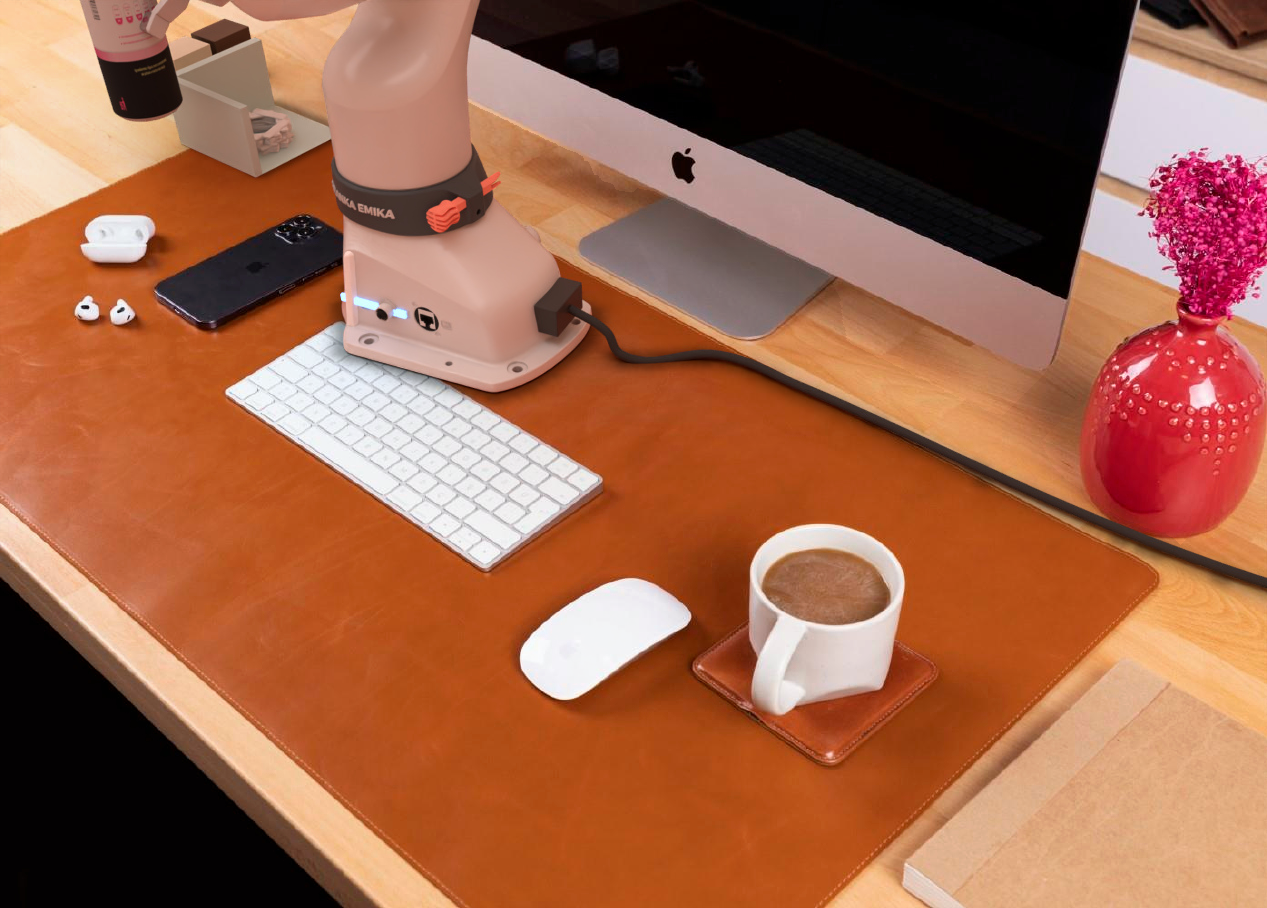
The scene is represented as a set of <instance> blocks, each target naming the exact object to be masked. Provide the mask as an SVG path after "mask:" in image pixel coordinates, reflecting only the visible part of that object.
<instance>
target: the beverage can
mask: <svg viewBox="0 0 1267 908" xmlns="http://www.w3.org/2000/svg"><path fill="white" fill-rule="evenodd" d="M79 3H80V6H81V9H82V12H83V16H84V18H85V22H86V25H87V29H88V33H89V36H90V39H91V42H92V44H93V48H94V52H95V56H96V59H97V62H98V65H99V68H100V72H101V75H102V79H103V82H104V85H105V89H106V91H107V94H108V98H109V101H110V104H111V107H112V111H113V113H114V114H115V115H117V116H118V117H120V118H122V119H123V120H125V121H129V122H133V123H134V122H135V123H136V122H137V123H145V122H154V121H158V120H161V119H165V118H166V117H169V116H171V115H173V113H174V112H175V111H176V110H177V109H178V108H179V106H180V105H181V103H182V101H183V97H182V94H181V90H180V86H179V82H178V78H177V75H176V71H175V67H174V63H173V59H172V56H171V52H170V48H169V44H168V43H169V41H168V37H167V34H165V36H164V38H162V39H158V38H155V37H153V36H150V35H148V34H146V33H145V32H143V31H141V30H140V23H141V21H142V20H143V17H144V14H145V12H146V11H148V12H151V11H152V10H153V9H154V8H155V7H156V5H157V4H158V3H159V1H158V0H79ZM151 13H152V12H151Z"/></svg>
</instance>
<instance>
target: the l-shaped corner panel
mask: <svg viewBox="0 0 1267 908" xmlns="http://www.w3.org/2000/svg"><path fill="white" fill-rule="evenodd" d="M176 75H177V78H178V82H179V86H180V90H181V94H182V97H183V101H182V103H181V105H180V106H179V108H178V109H177V110H176V111H175V112H174V113H173V114H172V116H173V120H174V123H175V127H176V130H177V134H178V137H179V142H180V144H181V145H183V146H185V147H187V148H190V149H192V150H194V151H195V152H198V153H200V154H203V155H205V156H207V157H209V158H211V159H213V160H216V161H218V162H220V163H223V164H225V165H227V166H229V167H231V168H234V169H236V170H239V171H240V172H243V173H245V174H247V175H250V176H252V177H254V178H258V177H261V176H262V175H264V174H266V173H268V172H270V171H272V170H273V169H276V168H277V167H280V166H282V165H283V164H286V163H287V162H289V161H290V160H291V161H292V160H293V159H295V158H297V157H298V156H301V155H302V154H304V153H306V152H308V151H310V150H313V149H314V148H316V147H318V146H320V145H322V144H324V143H326V142H328V141H329V140H331V134H330V129H329V125H325V124H324V123H320V122H318V121H316V120H313V119H311V118H308V117H306V116H303V115H301V114H298V113H296V112H293V111H292V110H288V109H286V108H285V107H281V106H278V105H276V104H275V99H274V94H273V89H272V85H271V84H272V83H271V78H270V74H269V70H268V64H267V60H266V56H265V50H264V45H263V41H262V39H261V38H258V37H251V39H250V40H248V41H245V42H243V43H241V44H238V45H236V46H234V47H231V48H229V49H227V50H224V51H222V52H220V53H217V54H215V55H213V56H210V57H208V58H206V59H203V60H201V61H199V62H196V63H194V64H192V65H190V66H187V67H185V68H183V69H180V70H178V71H176Z"/></svg>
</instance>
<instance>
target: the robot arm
mask: <svg viewBox="0 0 1267 908" xmlns="http://www.w3.org/2000/svg"><path fill="white" fill-rule="evenodd" d="M190 1H191V0H160V1H158V4H157V5H156V7H155V8H154V9H153V10H152V11H151V12H152V13H151V12H148V11H146V12H145V14H144V17H143V20H142V21H141V23H140V30H141V31H143V32H145V33H146V34H148V35H150V36H153V37H155V38H158V39H162V38H164V36H165V34H166V33H167V31H168V29H169V26H170V25H171V24H172V23H173V22H174V21H175V20H176V19H177V18H178V17H179V16H180V15H181V14H182V13H183V12H185V11H186V10H187V8H188V6H189V3H190ZM198 1H199V2H203V3H207V4H210V5H212V6H216V7H219V8H222V7H224V6H225V5H227V4H229V2H230V3H231V4H233V6H235V7H236V8H237V9H238V10H240V11H241V12H243V13H244V14H245V15H247V16H249V17H251V18H252V19H255V20H257V21H260V22H279V21H280V22H281V21H290V20H300V19H301V20H302V19H308V18H309V19H310V18H316V17H317V18H318V17H324V16H327V15H331V14H334V13H336V12H339V11H342V10H344V9H345V10H346V9H347V8H350V7H353V6H355V5H357V7H356V10H355V12H354V15H353V17H352V19H351V21H350V22H349V24H348V25H347V27H346V29H345V30H344V32H342V34H341V35H340V37H339V38H338V39H337V40H336V42H335V43H334V45H333V46H332V48H331V49H330V51H329V52H328V54H327V56H326V59H325V61H324V65H323V69H322V73H321V75H322V77H321V88H322V93H323V94H322V95H323V100H324V105H325V111H326V117H327V122H328V127H329V129H330V134H331V139H330V140H331V145H332V151H333V156H332V159H331V163H330V167H331V176H332V180H331V185H332V190H333V194H334V197H335V202H336V206H337V208H338V210H339V211H340V213H341V214H342V218H343V235H342V236H343V237H342V238H343V240H342V241H343V242H342V249H343V250H342V267H343V285H344V289H343V292H341V293H340V299H341V314H342V316H343V319H344V322H345V326H344V330H343V334H342V336H343V337H342V339H343V340H342V343H343V349H344V350H345V352H346V353H349V354H351V355H354V356H358V357H362V358H365V359H368V360H372V361H376V362H380V363H383V364H387V365H390V366H393V367H398V368H401V369H403V370H404V369H405V370H408V371H411V372H416V373H419V374H423V375H425V376H426V375H427V376H429V377H433V378H437V379H440V380H444V381H447V382H451V383H455V384H457V385H462V386H466V387H468V388H469V387H470V388H474V389H476V390H481V391H483V392H488V393H499V392H504V391H507V390H511V389H515V388H516V387H520V386H522V385H524V384H527V383H528V382H530V381H533V380H535V379H536V378H538V377H540V376H541V375H543V374H544V373H546V372H547V371H549V370H551V369H552V368H553V367H554V366H556V365H557V364H558V363H560V362H561V361H562V360H563V359H565V358H566V357H567V356H568V355H569V354H570V353H572V351H574V350H575V349H576V347H577V346H578V345H579V344H580V343H581V342H582V340H583V339H584V338H585V337H586V335H587V333H588V331H589V330H590V327H593V328H594V329H596V330H597V331H598V332H600V334H601V335H603V337H604V338H605V340H606V342H607V344H608V347H609V349H610V351H611V353H612V354H613V355H614V357H616V358H618V359H619V360H622V361H624V362H626V363H630V364H635V365H645V364H665V363H676V362H684V361H690V360H699V359H712V360H720V361H725V362H730V363H733V364H737V365H740V366H743V367H745V368H748V369H751V370H753V371H756V372H758V373H760V374H762V375H765V376H767V377H769V378H771V379H773V380H775V381H777V382H779V383H781V384H782V385H785V386H787V387H790V388H792V389H794V390H797V391H799V392H801V393H803V394H806V395H808V396H810V397H813V398H814V399H815V398H816V399H818V400H820V401H822V402H825V403H827V404H828V405H829V404H830V405H831V406H833V407H836V408H838V409H841V410H842V411H845V412H847V413H849V414H851V415H852V416H853V415H854V416H856V417H858V418H860V419H862V420H864V421H867V422H868V423H871V424H873V425H875V426H878V427H880V428H882V429H884V430H886V431H888V432H891V433H893V434H895V435H897V436H899V437H901V438H903V439H906V440H907V441H910V442H912V443H914V444H915V445H918V446H919V447H920V446H921V447H923V448H924V449H927V450H929V451H931V452H932V453H935V454H937V455H939V456H942V457H944V458H946V459H947V460H950V461H951V462H955V463H956V464H959V465H960V466H963V467H966V468H967V469H970V470H971V471H973V472H975V473H978V474H980V475H982V476H985V477H987V478H988V479H991V480H993V481H995V482H997V483H999V484H1002V485H1003V486H1006V487H1008V488H1011V489H1013V490H1014V491H1017V492H1019V493H1021V494H1023V495H1025V496H1028V497H1030V498H1032V499H1035V500H1036V501H1039V502H1040V503H1044V504H1046V505H1048V506H1050V507H1053V508H1055V509H1057V510H1060V511H1061V512H1064V513H1066V514H1069V515H1071V516H1073V517H1076V518H1077V519H1080V520H1083V521H1085V522H1088V523H1090V524H1091V525H1094V526H1097V527H1099V528H1101V529H1104V530H1106V531H1109V532H1111V533H1114V534H1116V535H1118V536H1121V537H1124V538H1125V539H1128V540H1131V541H1133V542H1136V543H1138V544H1141V545H1143V546H1145V547H1148V548H1151V549H1153V550H1156V551H1158V552H1161V553H1164V554H1167V555H1169V556H1172V557H1175V558H1177V559H1180V560H1181V561H1182V560H1183V561H1185V562H1188V563H1191V564H1193V565H1196V566H1199V567H1202V568H1203V569H1206V570H1210V571H1212V572H1216V573H1219V574H1221V575H1224V576H1227V577H1229V578H1233V579H1236V580H1239V581H1241V582H1245V583H1247V584H1250V585H1254V586H1257V587H1260V588H1263V589H1267V577H1266V576H1264V575H1260V574H1257V573H1254V572H1251V571H1249V570H1245V569H1242V568H1239V567H1236V566H1233V565H1230V564H1227V563H1224V562H1221V561H1218V560H1216V559H1213V558H1210V557H1207V556H1204V555H1201V554H1199V553H1196V552H1193V551H1190V550H1188V549H1185V548H1183V547H1180V546H1177V545H1174V544H1172V543H1169V542H1166V541H1163V540H1161V539H1158V538H1156V537H1154V536H1151V535H1149V534H1146V533H1143V532H1140V531H1138V530H1135V529H1133V528H1130V527H1128V526H1125V525H1123V524H1120V523H1118V522H1116V521H1113V520H1112V519H1108V518H1106V517H1104V516H1101V515H1100V514H1097V513H1094V512H1092V511H1090V510H1087V509H1084V508H1082V507H1080V506H1078V505H1076V504H1073V503H1071V502H1068V501H1067V500H1064V499H1061V498H1058V497H1057V496H1054V495H1052V494H1050V493H1047V492H1045V491H1043V490H1041V489H1038V488H1037V487H1034V486H1032V485H1030V484H1028V483H1025V482H1023V481H1021V480H1019V479H1016V478H1014V477H1013V476H1010V475H1007V474H1005V473H1003V472H1001V471H999V470H997V469H995V468H992V467H990V466H988V465H986V464H984V463H981V462H979V461H977V460H975V459H973V458H970V457H968V456H966V455H964V454H962V453H960V452H957V451H955V450H954V449H951V448H949V447H947V446H944V445H942V444H940V443H938V442H936V441H934V440H932V439H930V438H928V437H926V436H924V435H921V434H919V433H917V432H914V431H913V430H910V429H908V428H907V427H905V426H902V425H900V424H897V423H896V422H893V421H891V420H889V419H886V418H885V417H882V416H880V415H878V414H876V413H873V412H871V411H869V410H868V409H867V410H866V409H865V408H863V407H860V406H859V405H856V404H854V403H851V402H850V401H847V400H845V399H843V398H840V397H838V396H836V395H833V394H832V393H828V392H826V391H825V390H822V389H820V388H817V387H815V386H814V385H813V386H812V385H810V384H807V383H805V382H803V381H801V380H798V379H796V378H794V377H792V376H789V375H787V374H785V373H784V372H781V371H779V370H777V369H774V368H773V367H770V366H768V365H766V364H764V363H762V362H760V361H757V360H755V359H752V358H749V357H747V356H743V355H740V354H737V353H734V352H729V351H725V350H724V351H723V350H718V349H704V348H703V349H692V350H685V351H681V352H680V351H679V352H675V353H669V354H664V355H656V356H642V355H636V354H633V353H630V352H627V351H625V350H623V349H622V348H621V347H620V345H619V343H618V340H617V338H616V335H615V334H614V332H613V331H612V330H611V328H610V327H609V326H608V325H607V324H606V323H604V322H603V321H601V320H600V319H598V317H595V316H594V315H593V311H592V306H591V304H590V303H589V302H587V301H585V300H584V299H583V283H582V282H581V281H578V280H575V279H570V278H566V277H563V276H561V272H560V269H559V265H558V262H557V260H556V258H555V257H554V255H553V254H552V253H551V252H550V251H549V250H548V249H547V248H546V247H545V246H544V245H543V244H542V240H541V237H540V235H539V233H538V231H537V230H536V229H535V228H534V227H533V226H530V225H525V226H523V225H522V223H521V222H520V221H519V220H517V218H515V216H514V215H513V214H512V213H511V212H510V211H509V210H508V209H507V208H506V207H504V205H503V204H502V203H500V201H499V200H497V198H496V197H495V196H494V189H496V188H497V187H498V186H500V185H501V184H502V181H501V180H498V178H499V177H500V176H501V172H500V171H495V172H494V173H493V174H491V175H490V176H488V174H487V172H486V169H485V166H484V164H483V162H482V160H481V158H480V155H479V153H478V151H477V148H476V147H475V145H474V144H473V142H472V136H471V121H470V109H469V92H468V91H469V89H468V61H469V49H470V43H471V37H472V32H473V29H474V23H475V19H476V15H477V12H478V9H479V6H480V2H481V0H198ZM166 35H167V34H166ZM497 180H498V181H497Z"/></svg>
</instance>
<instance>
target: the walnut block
mask: <svg viewBox="0 0 1267 908" xmlns="http://www.w3.org/2000/svg"><path fill="white" fill-rule="evenodd" d="M190 38H193V39H196V40H199V41H202V42H205V43H208V44H210V48H211V52H212V56H213V55H215V54H217V53H220V52H222V51H224V50H227V49H229V48H231V47H234V46H236V45H238V44H241V43H243V42H245V41H248V40H250V39H252V35H251V31H250V27H249V25H245V24H244V23H243V24H242V23H240V22H237V21H234V20H230V19H227V18H222V19H220V20H218V21H216V22H213V23H211V24H209V25H206V26H204V27H202V28H200V29H198V30H195V31H193V32H191V33H190Z"/></svg>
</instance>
